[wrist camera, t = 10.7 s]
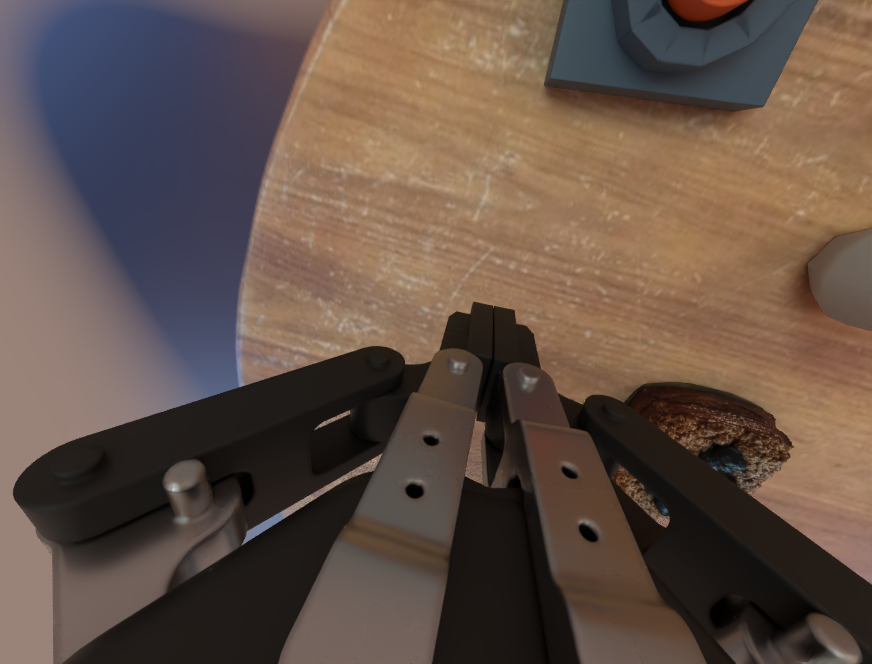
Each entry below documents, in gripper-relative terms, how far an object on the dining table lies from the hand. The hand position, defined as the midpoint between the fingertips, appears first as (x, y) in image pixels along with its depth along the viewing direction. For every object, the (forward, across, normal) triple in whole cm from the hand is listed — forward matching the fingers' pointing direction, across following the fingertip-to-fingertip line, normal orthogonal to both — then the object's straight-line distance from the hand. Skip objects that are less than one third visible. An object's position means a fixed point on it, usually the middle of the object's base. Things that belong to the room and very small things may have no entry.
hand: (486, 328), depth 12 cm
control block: (+12, -6, -13) cm, 19 cm away
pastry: (+12, -18, +13) cm, 26 cm away
